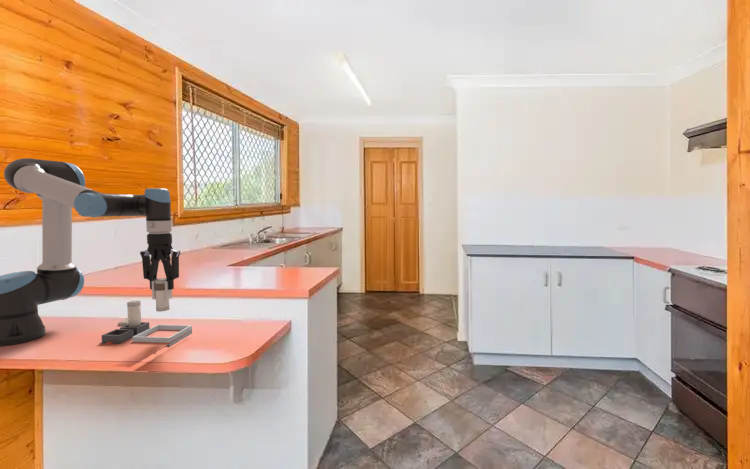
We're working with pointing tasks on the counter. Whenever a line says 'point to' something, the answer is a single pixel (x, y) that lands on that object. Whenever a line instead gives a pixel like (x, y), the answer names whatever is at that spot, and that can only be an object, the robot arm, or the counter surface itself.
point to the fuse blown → (161, 295)
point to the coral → (123, 322)
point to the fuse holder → (123, 333)
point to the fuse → (134, 313)
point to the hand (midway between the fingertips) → (162, 298)
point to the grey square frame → (183, 328)
